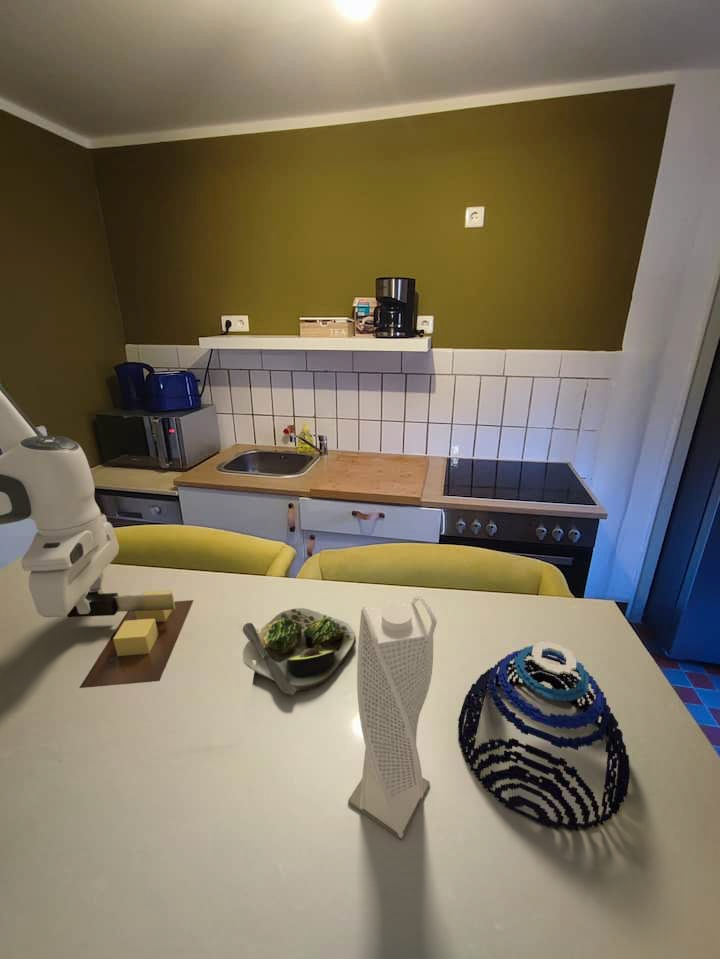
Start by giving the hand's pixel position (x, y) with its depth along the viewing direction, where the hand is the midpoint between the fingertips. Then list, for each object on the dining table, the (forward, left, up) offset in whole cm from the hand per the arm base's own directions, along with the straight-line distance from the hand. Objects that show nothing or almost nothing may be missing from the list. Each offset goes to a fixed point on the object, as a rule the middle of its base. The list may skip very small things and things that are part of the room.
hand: (91, 604), depth 75 cm
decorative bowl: (+67, -30, -6) cm, 74 cm away
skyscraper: (+47, -35, -6) cm, 59 cm away
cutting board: (+7, -5, -6) cm, 10 cm away
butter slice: (+10, +2, -4) cm, 11 cm away
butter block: (+9, -6, -4) cm, 12 cm away
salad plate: (+36, -10, -6) cm, 38 cm away
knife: (+5, 0, -2) cm, 5 cm away
